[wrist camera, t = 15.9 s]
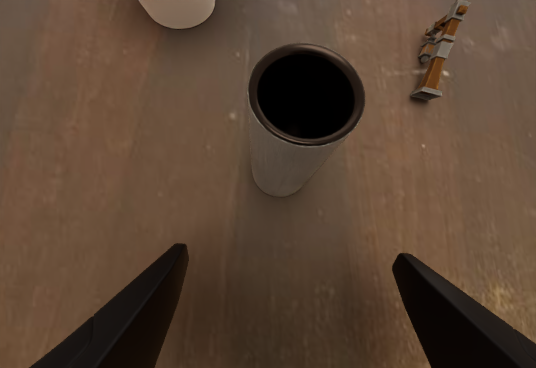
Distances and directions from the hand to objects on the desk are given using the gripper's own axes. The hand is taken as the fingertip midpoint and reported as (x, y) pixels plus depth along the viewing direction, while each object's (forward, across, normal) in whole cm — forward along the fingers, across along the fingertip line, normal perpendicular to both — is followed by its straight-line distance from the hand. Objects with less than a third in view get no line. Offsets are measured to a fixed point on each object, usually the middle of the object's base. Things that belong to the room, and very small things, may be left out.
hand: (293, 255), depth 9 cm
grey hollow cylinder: (+10, 0, +1) cm, 10 cm away
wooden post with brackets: (+18, -13, -7) cm, 23 cm away
